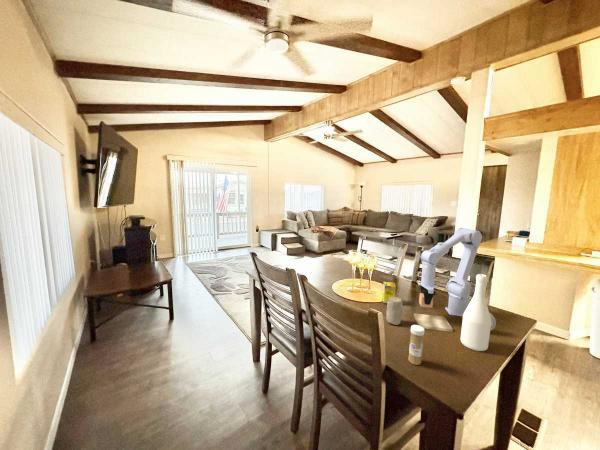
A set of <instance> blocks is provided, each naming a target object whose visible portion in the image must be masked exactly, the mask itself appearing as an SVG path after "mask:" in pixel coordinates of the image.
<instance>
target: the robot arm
mask: <svg viewBox="0 0 600 450" xmlns="http://www.w3.org/2000/svg"><path fill="white" fill-rule="evenodd" d="M482 238H483V235H482V233H481V232H480V230H475V229H468V228H463V227H460V228H458V229H456V230H455V232H454V234H453V235H451V236H450V237H449V238H447V240H446V241H444V242H437V244H436V245H434V246H433V247H431V248H430V249H428V250H424V251H422V253H421V254H420V255H419V256H420V257H419V258H420V260H421V265H422V270H421V281H420V282H417V283H418V284H417V285H418V286H419V288H420V293H423V294H424V302H425V304H426V305H430V303H431V300H432V298H433V299H434V297H435V295H436V294H437V293H436V291H434V290H435V280H436V279H435V277H436V268H437V264H439V262H440V260H441V258H442V257H444V256H445V255H446V254H448V253H449V252H450V249H451V248H452V247H455V246H456V245H458V244H459V243H460V244H462V245H463V247H464V250H463V253H462V255H461V258H460V262H459V265H458V268H457V270H456V272H455V273H456V274H455V276H453V277H451V278H450V277H449V281H447V283H446V285H445V289H446V292H447V294H448V301H447V302H448V304H447V305H448V306H445V307H444V309H445V310H446V312H447V313H448V314H449V315H450V316H459V317H463V314H464V312H465V310H466V308H467V307H468V305H469V303H470V301H471V298H470V296H471V288H472V285H471V284H470V282H469V276H470V273H471V270H472V267H473V264H474V261H475V259H476V255H477V252H478V249H479V247H480V245H481V242H482Z"/></svg>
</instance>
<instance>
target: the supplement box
mask: <svg viewBox="0 0 600 450" xmlns="http://www.w3.org/2000/svg"><path fill="white" fill-rule="evenodd" d="M382 285H383V287H382V303H383V305H387V303H388V299H389V298H390V297H396V288H397V286H396V283H395V282H391V281H390V282H388V281H383V284H382Z"/></svg>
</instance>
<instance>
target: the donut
mask: <svg viewBox="0 0 600 450" xmlns="http://www.w3.org/2000/svg"><path fill="white" fill-rule="evenodd" d="M489 314H490V318H491V328H490V332H491V331H492V330H494V329H495V327H496V326H497V320H496V318H495V316H494V315H493V314H492V313H491V312H489Z"/></svg>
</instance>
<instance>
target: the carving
mask: <svg viewBox="0 0 600 450" xmlns="http://www.w3.org/2000/svg"><path fill="white" fill-rule="evenodd" d="M403 305H404V304H403V300H402V299H401V298H400V297H398V296H395V297H390V298H389V299H388V303H387V304H386V308H387V309H386V311H385V313H386V316H385V319H386V322H387V323H389V324H392V325H396V326H398V325H401V321H402V318H403V317H402V316H403Z"/></svg>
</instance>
